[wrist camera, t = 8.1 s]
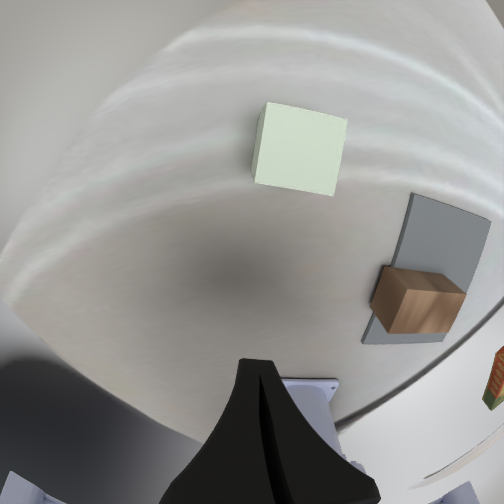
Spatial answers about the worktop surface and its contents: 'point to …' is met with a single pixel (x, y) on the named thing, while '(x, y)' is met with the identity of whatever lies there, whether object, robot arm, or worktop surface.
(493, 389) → the carton
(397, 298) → the walnut block
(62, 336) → the worktop surface
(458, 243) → the mat
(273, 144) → the sage block
